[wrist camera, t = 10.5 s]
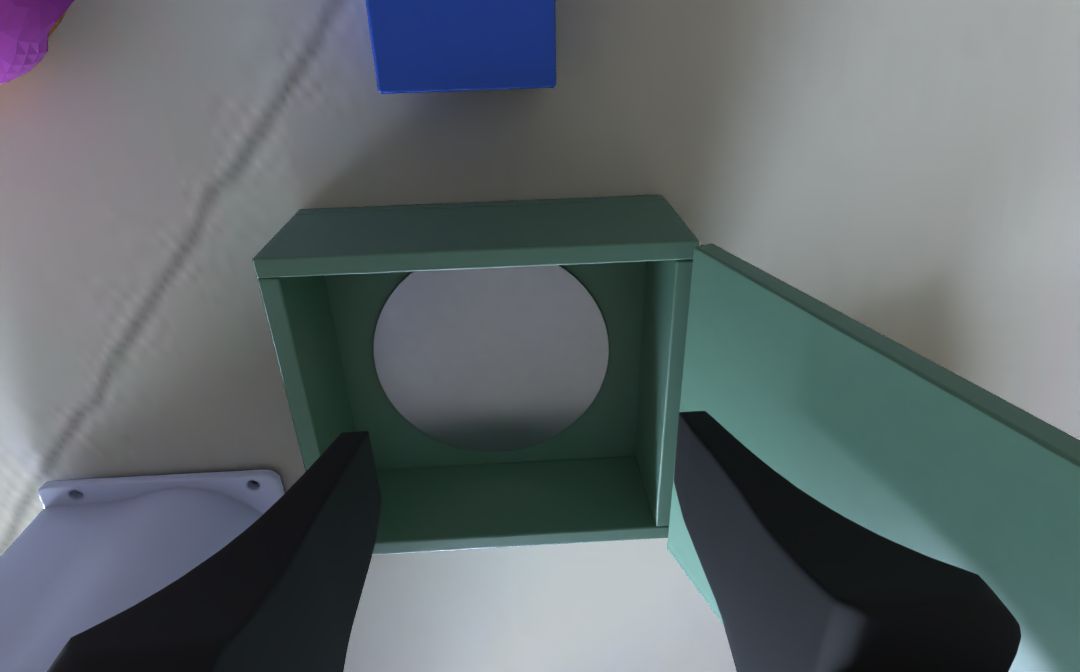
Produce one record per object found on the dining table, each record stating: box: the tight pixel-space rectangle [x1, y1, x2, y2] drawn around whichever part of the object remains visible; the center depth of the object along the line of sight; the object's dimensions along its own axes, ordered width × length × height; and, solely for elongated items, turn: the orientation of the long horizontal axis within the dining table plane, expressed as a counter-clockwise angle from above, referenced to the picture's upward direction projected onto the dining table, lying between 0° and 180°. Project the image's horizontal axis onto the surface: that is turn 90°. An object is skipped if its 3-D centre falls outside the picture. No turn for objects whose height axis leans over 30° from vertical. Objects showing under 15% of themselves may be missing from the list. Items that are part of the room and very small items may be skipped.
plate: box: [373, 265, 609, 452], centre depth 24 cm, size 9×9×1 cm
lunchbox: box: [253, 195, 698, 555], centre depth 22 cm, size 12×11×5 cm
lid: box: [667, 244, 1080, 672], centre depth 15 cm, size 13×11×1 cm
